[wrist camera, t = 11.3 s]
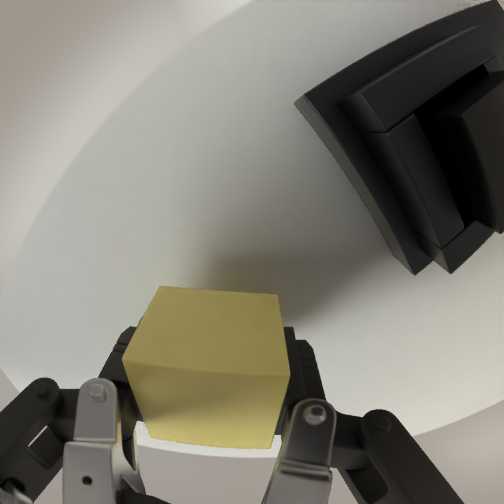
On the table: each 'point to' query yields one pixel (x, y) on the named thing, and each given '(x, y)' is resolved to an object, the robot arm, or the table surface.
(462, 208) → the black square block
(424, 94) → the black hollow base
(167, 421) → the note cube
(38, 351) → the table surface
